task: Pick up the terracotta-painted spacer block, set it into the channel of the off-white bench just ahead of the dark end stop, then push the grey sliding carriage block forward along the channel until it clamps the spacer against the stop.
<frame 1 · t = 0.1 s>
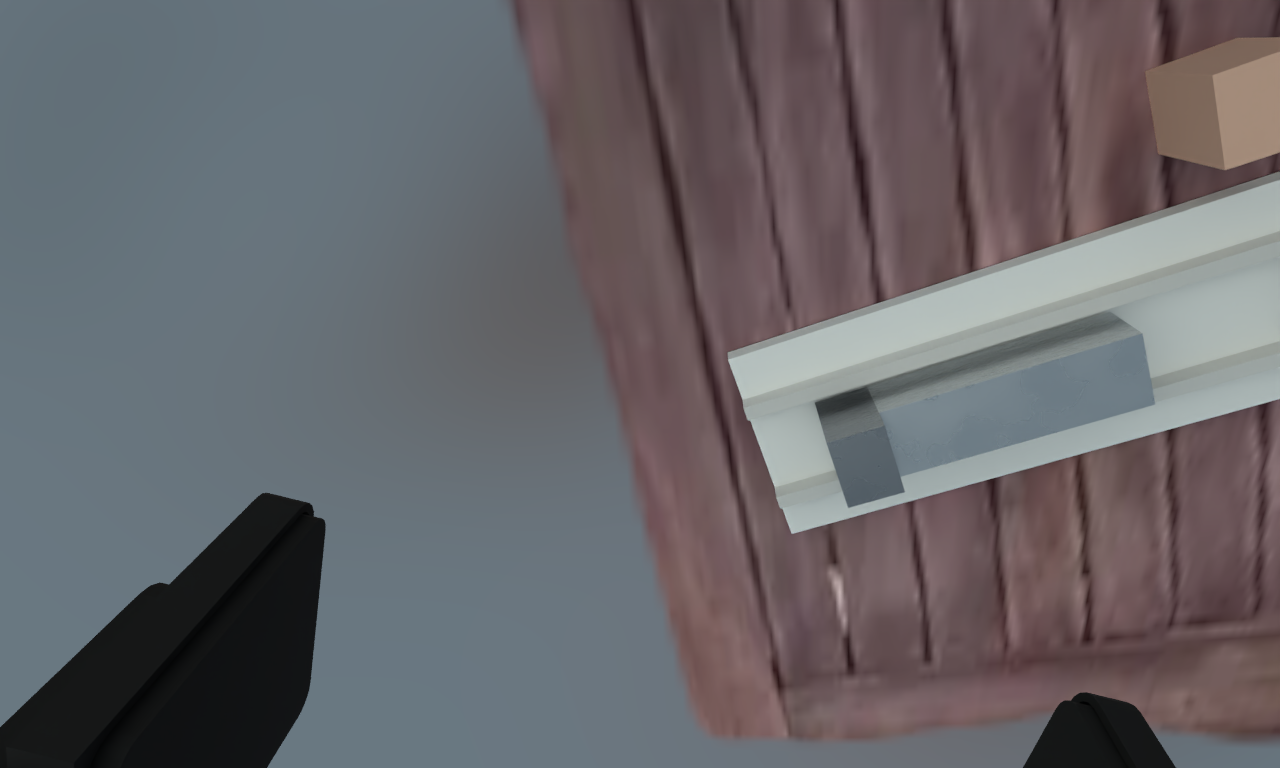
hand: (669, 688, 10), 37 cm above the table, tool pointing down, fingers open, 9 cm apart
spacer: (1196, 97, 41), on the table
bench: (1052, 352, 46), on the table
grey sliding carriage block: (979, 409, 44), point 4 cm above the table, slide at 0.0 cm
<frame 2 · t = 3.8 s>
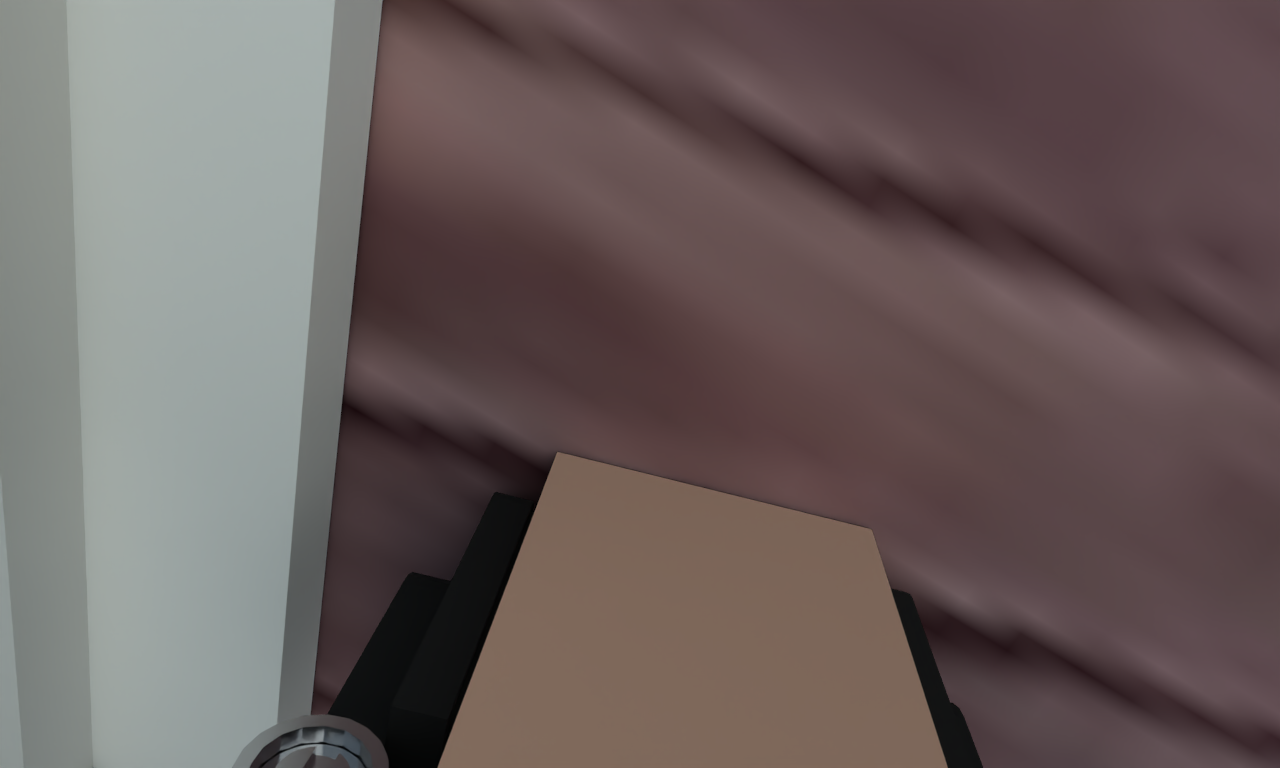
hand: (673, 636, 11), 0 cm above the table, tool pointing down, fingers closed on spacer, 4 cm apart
spacer: (675, 617, 12), on the table, touching gripper
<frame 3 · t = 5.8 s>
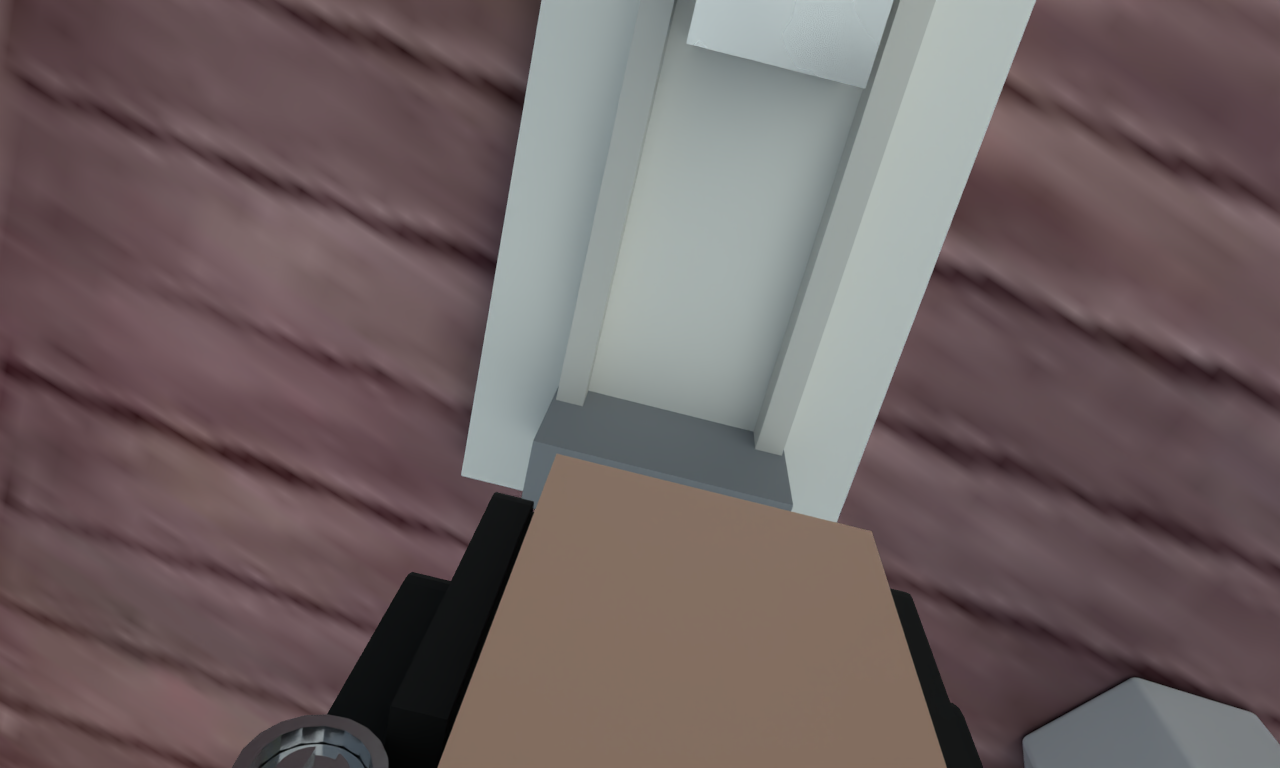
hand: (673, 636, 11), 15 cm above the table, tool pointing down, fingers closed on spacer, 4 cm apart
spacer: (674, 619, 12), point 15 cm above the table, touching gripper
jar: (1132, 765, 31), on the table
when the fingers open (3 cm above the table, at t = 7.9 s): spacer drops 1 cm, resting on bench.
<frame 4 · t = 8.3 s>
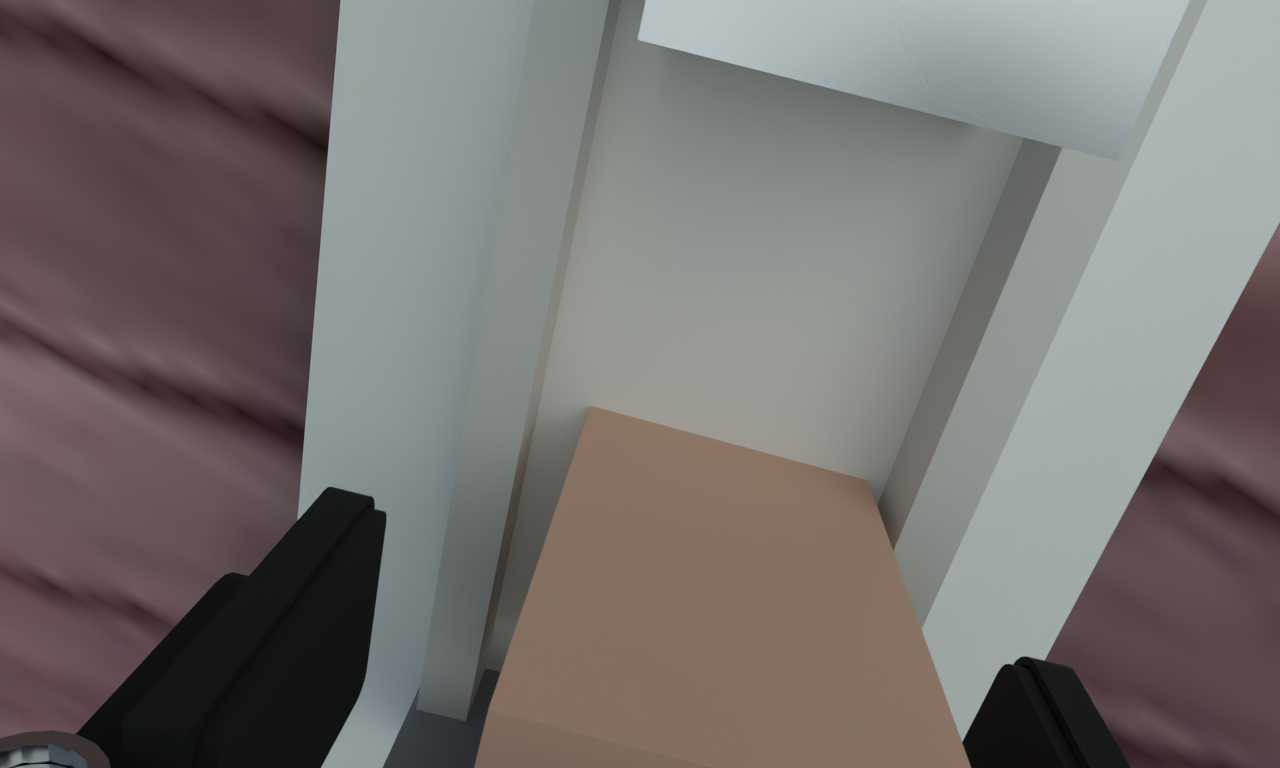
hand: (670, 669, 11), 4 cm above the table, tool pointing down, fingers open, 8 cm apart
spacer: (690, 559, 13), point 1 cm above the table, touching bench
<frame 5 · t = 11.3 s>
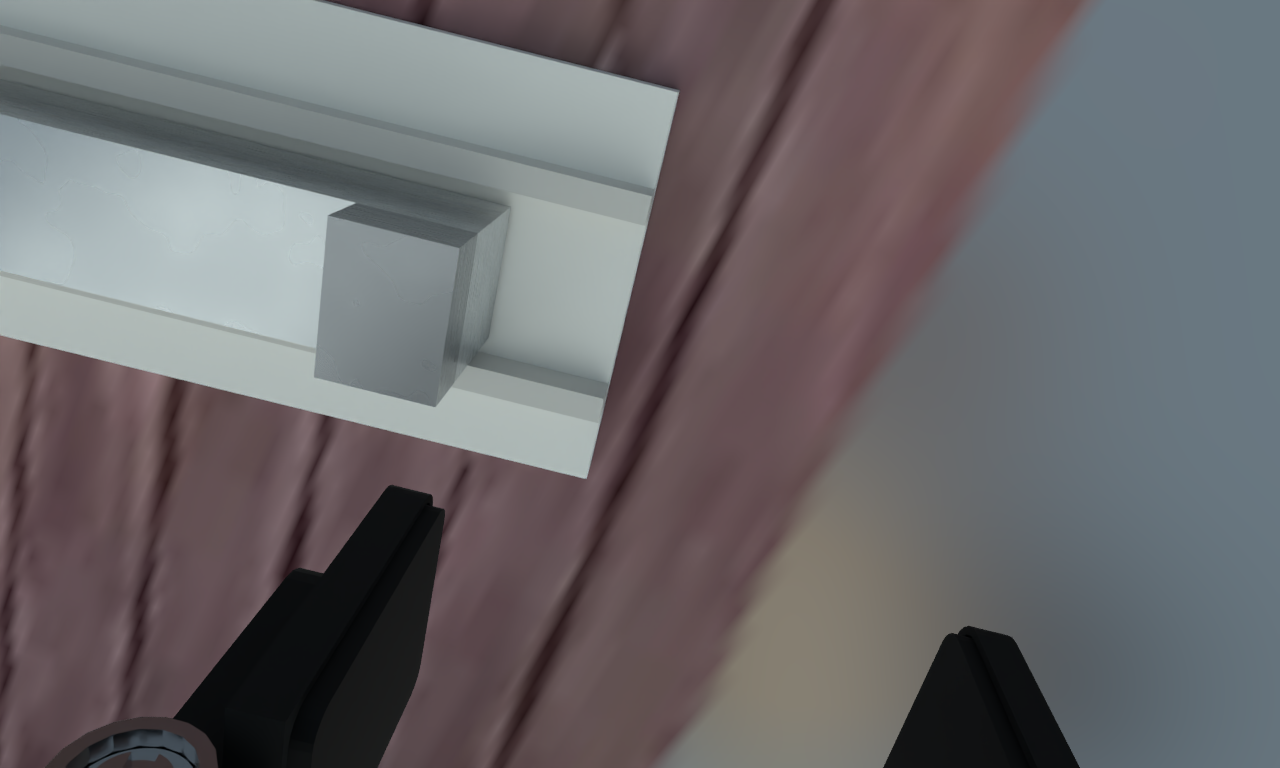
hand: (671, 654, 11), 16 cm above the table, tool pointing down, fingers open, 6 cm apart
bench: (85, 156, 25), on the table
grey sliding carriage block: (175, 224, 22), point 4 cm above the table, slide at 0.0 cm
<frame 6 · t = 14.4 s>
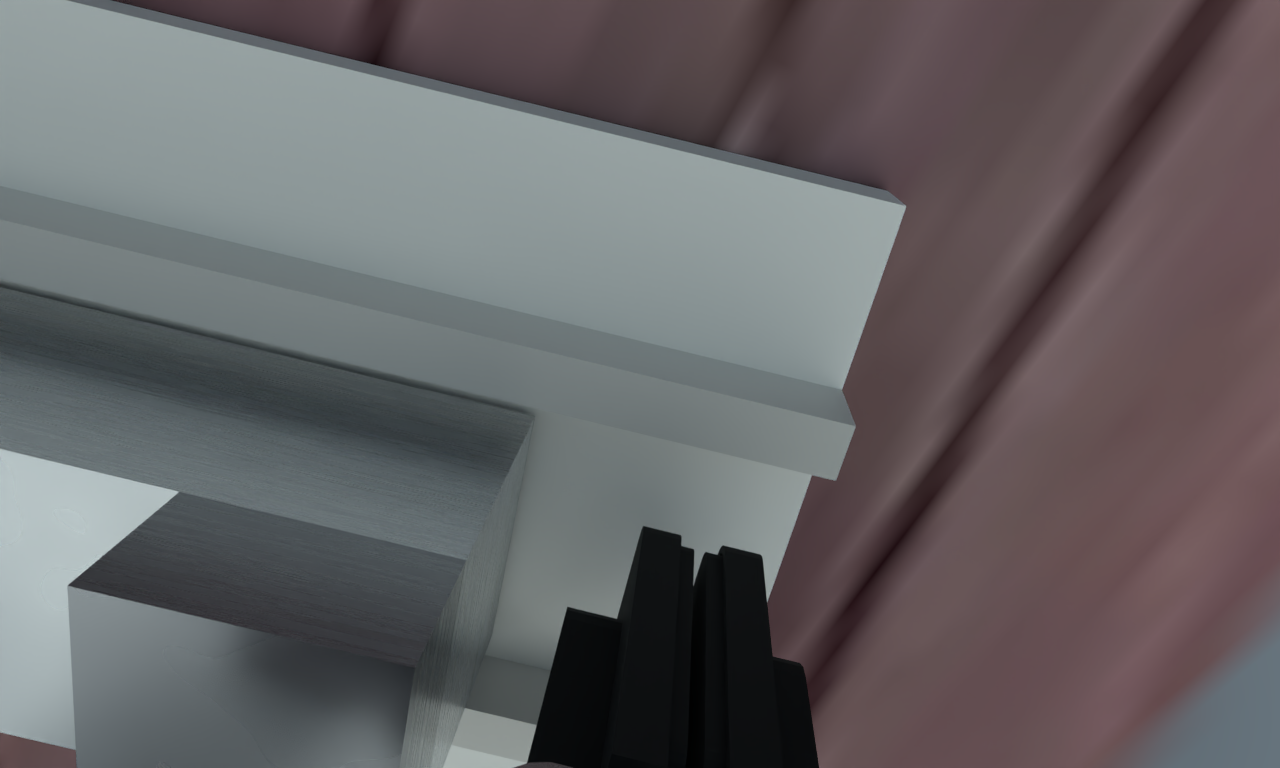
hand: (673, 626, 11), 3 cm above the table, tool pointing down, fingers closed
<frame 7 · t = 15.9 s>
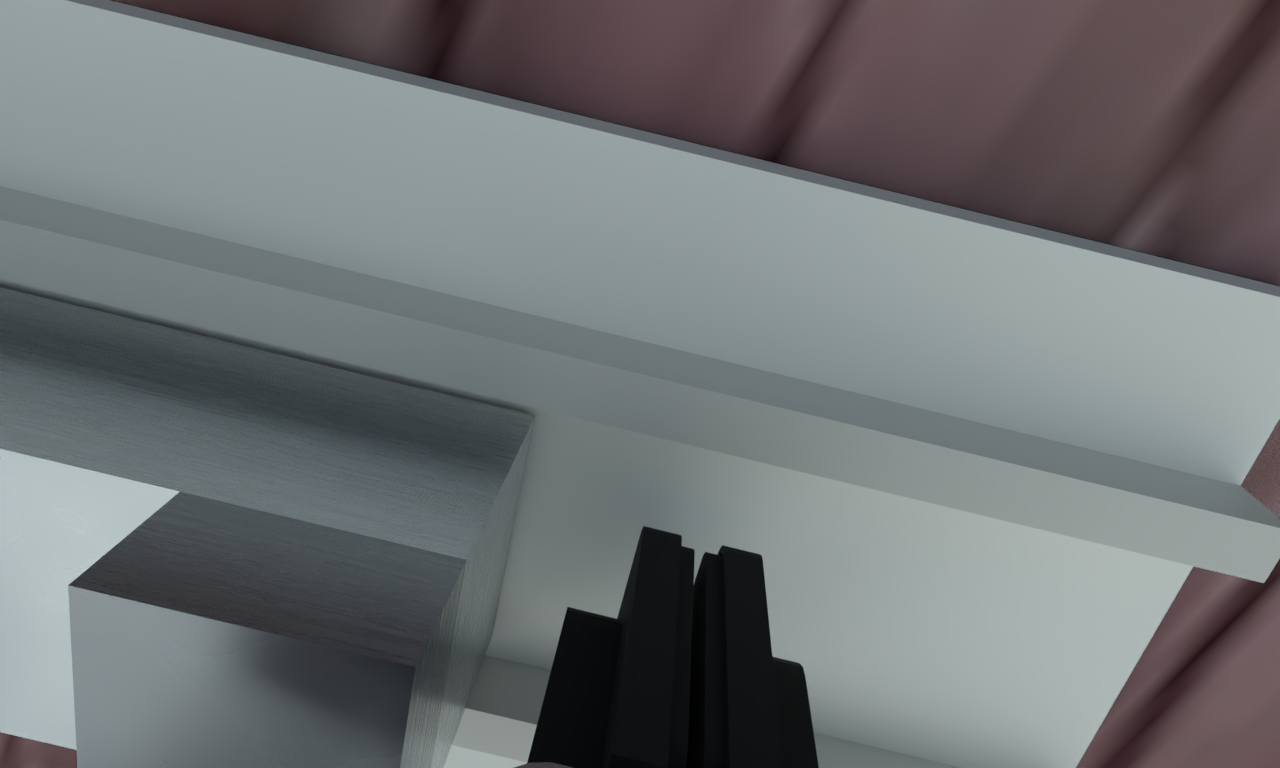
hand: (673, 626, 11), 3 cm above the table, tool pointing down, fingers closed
bench: (109, 386, 14), on the table
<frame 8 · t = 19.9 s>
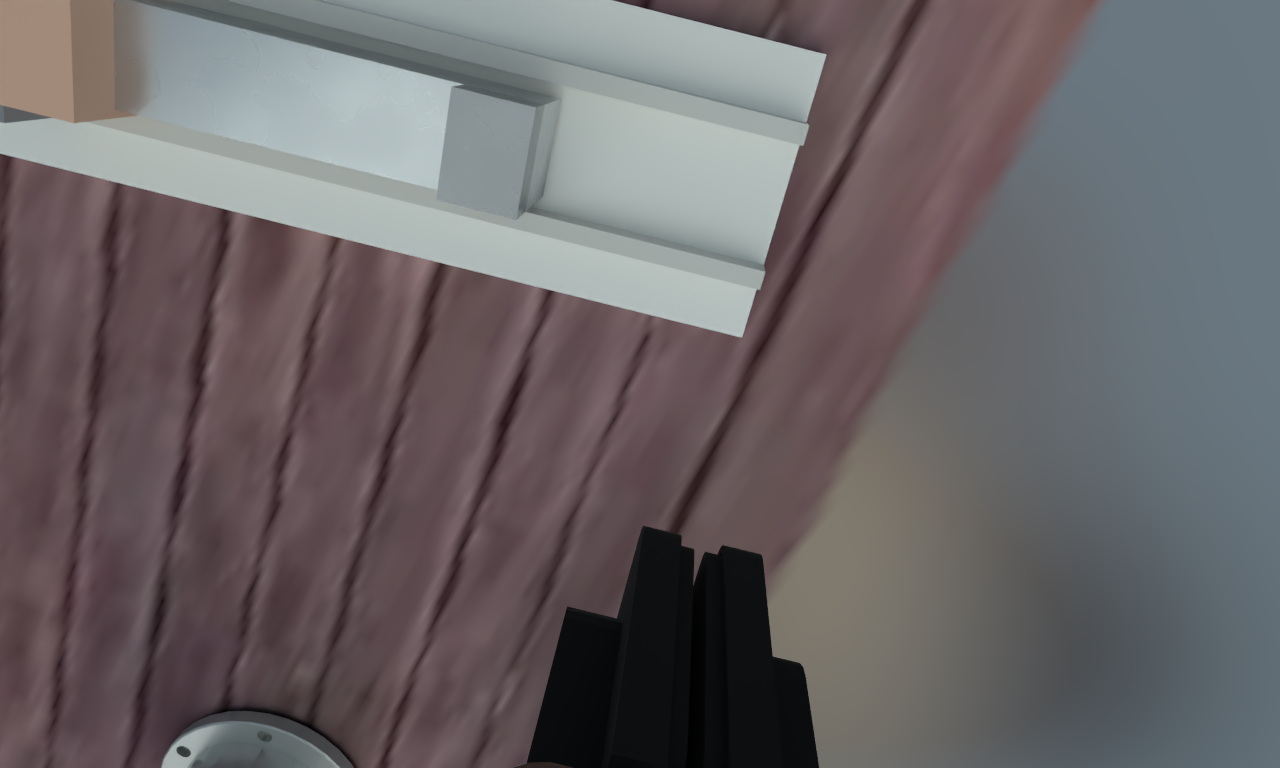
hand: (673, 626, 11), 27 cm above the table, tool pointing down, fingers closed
spacer: (125, 46, 34), point 1 cm above the table, touching bench
bench: (393, 103, 36), on the table
grey sliding carriage block: (336, 105, 32), point 4 cm above the table, slide at 6.0 cm
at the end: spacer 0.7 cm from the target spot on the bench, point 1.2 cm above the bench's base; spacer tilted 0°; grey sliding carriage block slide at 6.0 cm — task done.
